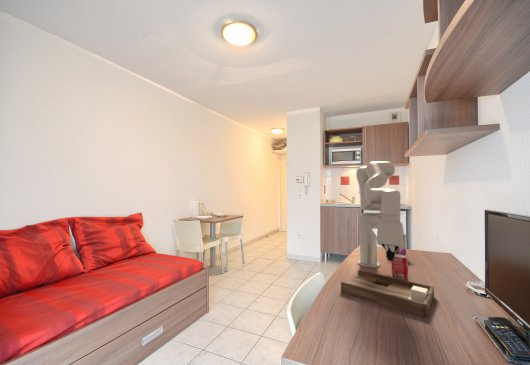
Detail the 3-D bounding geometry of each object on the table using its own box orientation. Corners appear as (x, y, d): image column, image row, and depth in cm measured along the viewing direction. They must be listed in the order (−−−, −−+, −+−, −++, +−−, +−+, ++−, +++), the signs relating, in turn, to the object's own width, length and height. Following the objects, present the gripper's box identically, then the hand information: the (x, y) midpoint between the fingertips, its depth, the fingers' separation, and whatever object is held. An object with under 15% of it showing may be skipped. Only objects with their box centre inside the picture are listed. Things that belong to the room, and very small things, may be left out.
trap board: (358, 278, 124) (358, 269, 124) (434, 296, 103) (433, 286, 103) (340, 292, 108) (340, 282, 108) (426, 317, 87) (425, 305, 87)
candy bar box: (387, 257, 162) (386, 233, 163) (386, 255, 167) (386, 232, 167) (406, 259, 158) (405, 234, 158) (405, 257, 162) (404, 233, 163)
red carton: (410, 285, 115) (410, 258, 116) (394, 284, 117) (394, 257, 117) (405, 279, 122) (404, 254, 123) (389, 278, 124) (389, 253, 124)
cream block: (413, 295, 100) (413, 285, 100) (427, 298, 97) (427, 288, 97) (410, 299, 96) (410, 289, 96) (425, 303, 93) (425, 292, 93)
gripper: (369, 217, 107) (369, 258, 107) (408, 221, 97) (408, 266, 98) (375, 215, 113) (375, 254, 113) (411, 218, 103) (411, 261, 103)
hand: (390, 259), depth 105 cm, fingers closed
